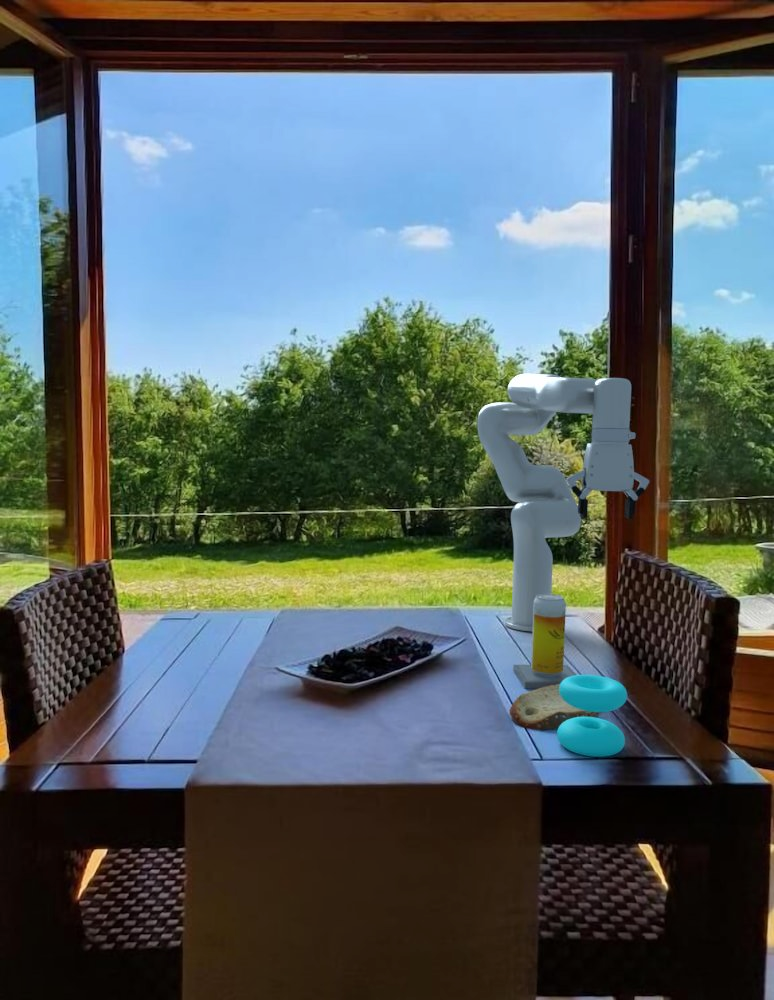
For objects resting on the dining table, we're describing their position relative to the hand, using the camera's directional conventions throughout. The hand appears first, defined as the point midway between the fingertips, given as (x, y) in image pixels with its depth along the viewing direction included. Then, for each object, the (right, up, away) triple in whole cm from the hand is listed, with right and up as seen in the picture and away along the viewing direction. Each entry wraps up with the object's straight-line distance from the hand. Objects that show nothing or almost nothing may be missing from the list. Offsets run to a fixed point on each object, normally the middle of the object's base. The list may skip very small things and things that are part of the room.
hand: (605, 517), depth 163 cm
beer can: (-16, -30, -15) cm, 37 cm away
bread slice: (-18, -33, -31) cm, 49 cm away
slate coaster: (-16, -31, -15) cm, 38 cm away
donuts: (-16, -34, -47) cm, 60 cm away
